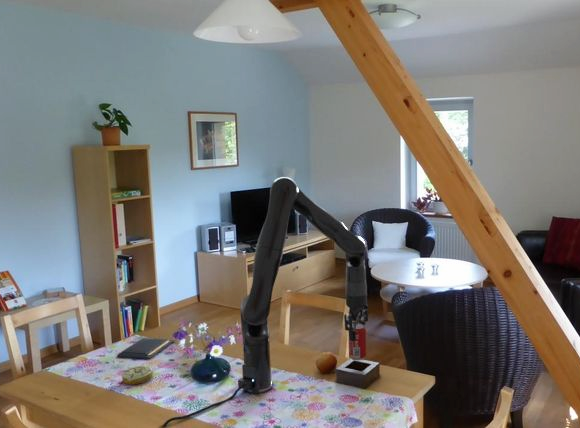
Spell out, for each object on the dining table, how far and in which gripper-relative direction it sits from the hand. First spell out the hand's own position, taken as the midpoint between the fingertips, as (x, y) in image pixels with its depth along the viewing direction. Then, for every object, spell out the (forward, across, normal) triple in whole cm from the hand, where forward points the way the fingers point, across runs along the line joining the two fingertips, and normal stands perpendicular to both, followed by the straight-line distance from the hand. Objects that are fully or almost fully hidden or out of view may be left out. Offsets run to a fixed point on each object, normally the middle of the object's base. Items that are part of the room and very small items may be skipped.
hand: (357, 337), depth 203 cm
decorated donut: (+16, +37, -72) cm, 82 cm away
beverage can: (+8, 0, 0) cm, 8 cm away
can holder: (+16, 0, 0) cm, 16 cm away
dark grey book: (+16, +15, -93) cm, 95 cm away
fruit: (+16, -1, -14) cm, 21 cm away
